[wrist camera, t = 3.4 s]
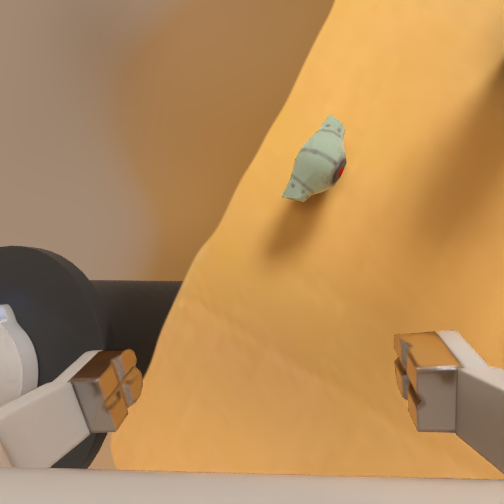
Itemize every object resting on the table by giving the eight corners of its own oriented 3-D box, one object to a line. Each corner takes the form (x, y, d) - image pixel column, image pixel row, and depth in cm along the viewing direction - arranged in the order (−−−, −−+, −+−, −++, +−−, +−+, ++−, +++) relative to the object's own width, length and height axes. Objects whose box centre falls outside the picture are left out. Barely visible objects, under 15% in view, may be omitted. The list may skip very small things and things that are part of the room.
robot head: (325, 136, 30) (321, 97, 24) (363, 153, 29) (369, 115, 23) (285, 206, 31) (269, 186, 24) (320, 225, 30) (314, 209, 23)
